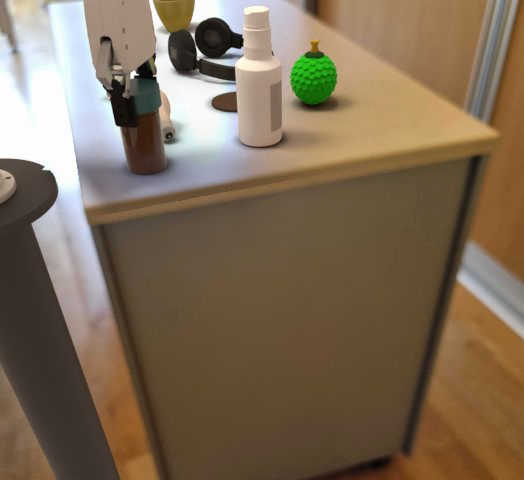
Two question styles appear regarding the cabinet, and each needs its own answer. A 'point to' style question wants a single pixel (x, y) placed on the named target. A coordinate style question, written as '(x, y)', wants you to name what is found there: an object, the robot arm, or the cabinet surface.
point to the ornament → (313, 76)
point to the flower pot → (175, 13)
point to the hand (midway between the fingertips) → (138, 114)
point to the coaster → (225, 102)
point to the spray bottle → (258, 83)
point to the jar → (145, 145)
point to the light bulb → (166, 118)
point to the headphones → (204, 48)
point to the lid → (145, 94)
